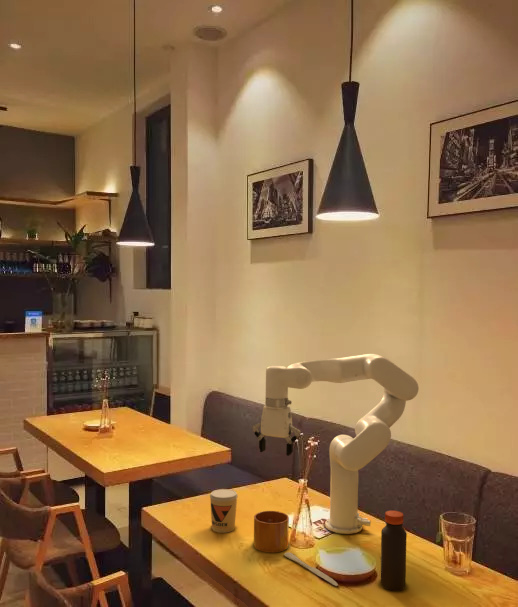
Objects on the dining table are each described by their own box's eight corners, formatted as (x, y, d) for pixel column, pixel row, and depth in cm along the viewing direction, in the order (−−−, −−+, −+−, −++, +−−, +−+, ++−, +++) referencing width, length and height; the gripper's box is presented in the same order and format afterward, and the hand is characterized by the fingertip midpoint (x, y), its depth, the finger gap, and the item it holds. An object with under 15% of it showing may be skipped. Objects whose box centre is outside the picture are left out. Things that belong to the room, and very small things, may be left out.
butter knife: (290, 551, 184) (282, 553, 183) (341, 583, 164) (333, 586, 163) (290, 552, 184) (282, 554, 183) (341, 585, 164) (333, 587, 163)
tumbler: (291, 540, 194) (292, 513, 194) (283, 554, 183) (284, 525, 183) (259, 536, 197) (259, 509, 197) (249, 549, 187) (249, 521, 186)
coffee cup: (204, 531, 200) (205, 495, 200) (216, 521, 209) (216, 487, 209) (230, 535, 197) (231, 499, 197) (241, 525, 206) (241, 490, 206)
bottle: (376, 587, 164) (378, 514, 164) (385, 577, 170) (386, 507, 169) (400, 594, 160) (402, 520, 160) (408, 583, 166) (410, 512, 166)
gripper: (304, 403, 201) (303, 453, 202) (257, 398, 209) (257, 447, 209) (296, 406, 195) (295, 459, 195) (248, 402, 202) (247, 452, 202)
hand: (275, 453), depth 202 cm, fingers open, 9 cm apart
